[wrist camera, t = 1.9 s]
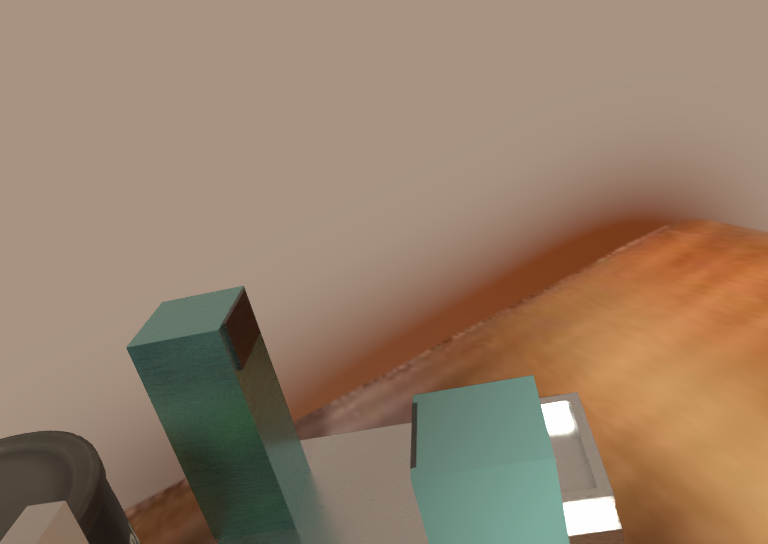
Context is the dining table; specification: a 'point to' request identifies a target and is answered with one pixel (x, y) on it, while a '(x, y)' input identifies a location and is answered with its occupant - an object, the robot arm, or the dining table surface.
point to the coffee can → (60, 484)
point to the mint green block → (486, 466)
